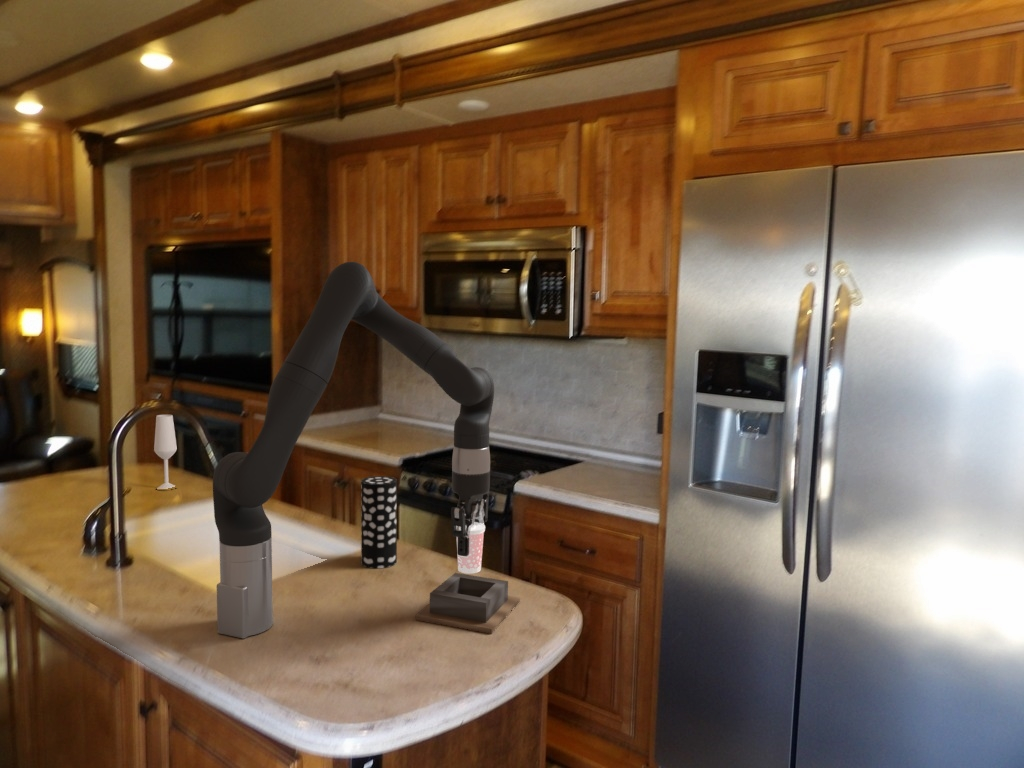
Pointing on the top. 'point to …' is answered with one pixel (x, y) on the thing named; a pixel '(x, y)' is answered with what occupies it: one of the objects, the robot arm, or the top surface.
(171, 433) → the champagne flute
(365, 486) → the white-spotted black cylinder
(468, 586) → the cup holder
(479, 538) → the beverage cup
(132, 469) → the top surface
